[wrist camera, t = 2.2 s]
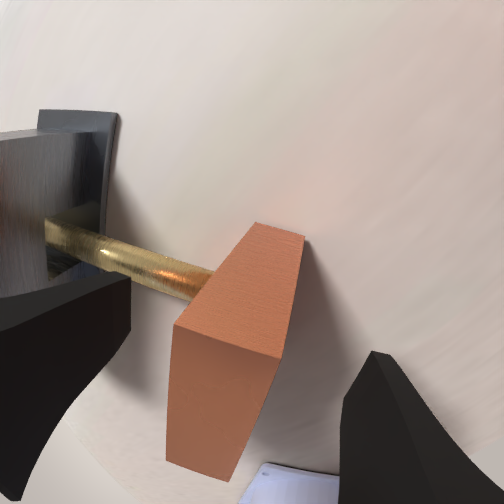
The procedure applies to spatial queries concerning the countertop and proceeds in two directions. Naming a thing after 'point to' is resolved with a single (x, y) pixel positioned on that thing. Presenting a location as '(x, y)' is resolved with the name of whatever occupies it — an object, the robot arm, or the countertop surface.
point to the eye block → (51, 195)
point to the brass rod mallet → (210, 333)
